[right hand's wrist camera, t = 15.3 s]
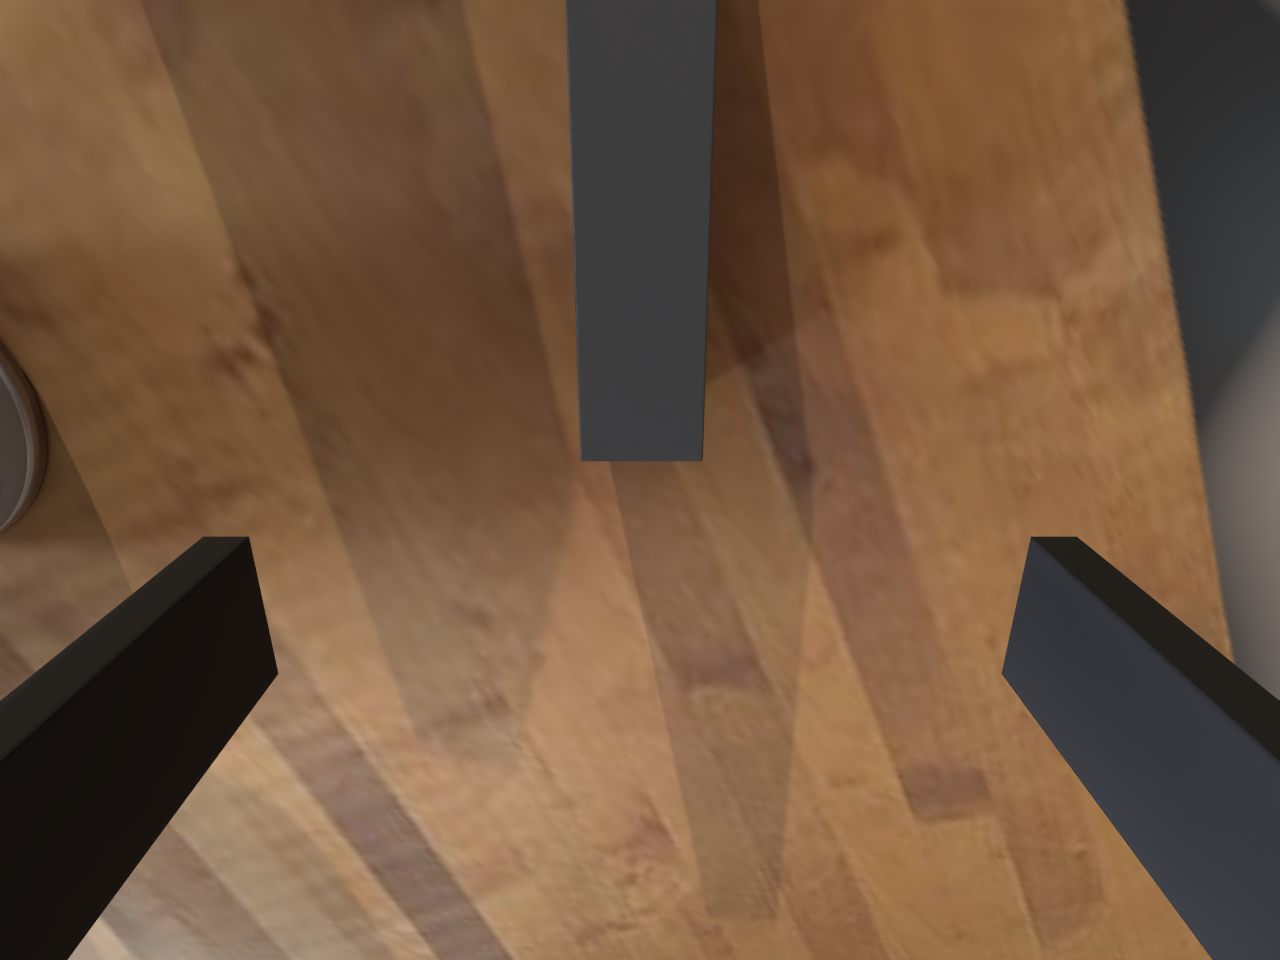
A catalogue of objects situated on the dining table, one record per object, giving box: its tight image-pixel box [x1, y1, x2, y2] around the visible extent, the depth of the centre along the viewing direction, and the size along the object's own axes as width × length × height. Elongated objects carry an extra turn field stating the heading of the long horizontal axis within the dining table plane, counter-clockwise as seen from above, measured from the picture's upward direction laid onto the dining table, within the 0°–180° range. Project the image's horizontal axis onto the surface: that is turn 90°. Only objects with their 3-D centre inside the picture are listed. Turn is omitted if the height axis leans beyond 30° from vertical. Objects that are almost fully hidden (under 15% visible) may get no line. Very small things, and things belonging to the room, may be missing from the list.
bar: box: [566, 0, 717, 461], centre depth 28 cm, size 31×5×10 cm, turn 0°
